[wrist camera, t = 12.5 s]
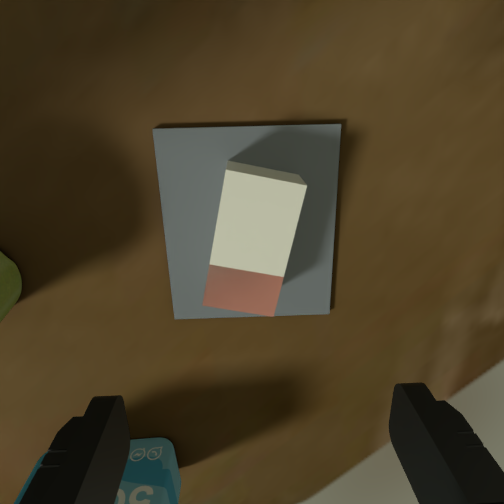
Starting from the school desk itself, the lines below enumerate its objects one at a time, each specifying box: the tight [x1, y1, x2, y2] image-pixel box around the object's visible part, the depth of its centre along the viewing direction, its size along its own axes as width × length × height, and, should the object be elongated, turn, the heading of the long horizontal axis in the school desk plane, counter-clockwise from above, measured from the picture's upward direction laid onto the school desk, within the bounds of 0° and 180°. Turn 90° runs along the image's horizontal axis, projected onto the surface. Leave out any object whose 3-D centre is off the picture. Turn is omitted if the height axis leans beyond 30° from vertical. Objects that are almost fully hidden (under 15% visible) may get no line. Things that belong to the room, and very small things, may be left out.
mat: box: [153, 124, 341, 319], centre depth 27 cm, size 12×14×1 cm
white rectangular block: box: [202, 161, 307, 317], centre depth 25 cm, size 9×5×4 cm, turn 169°
